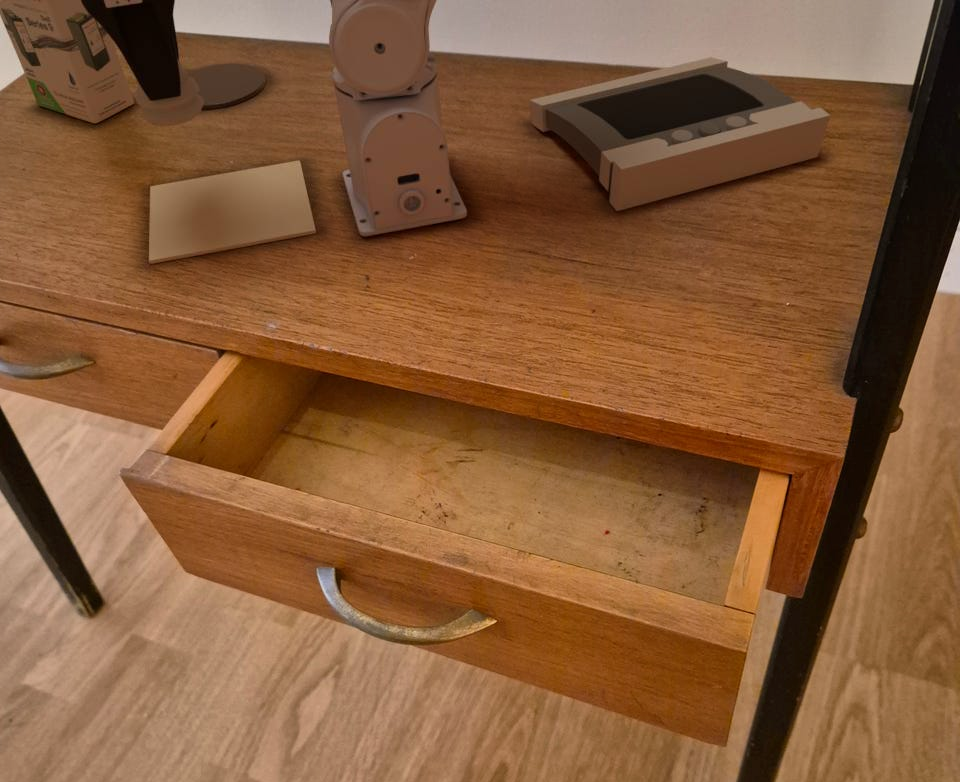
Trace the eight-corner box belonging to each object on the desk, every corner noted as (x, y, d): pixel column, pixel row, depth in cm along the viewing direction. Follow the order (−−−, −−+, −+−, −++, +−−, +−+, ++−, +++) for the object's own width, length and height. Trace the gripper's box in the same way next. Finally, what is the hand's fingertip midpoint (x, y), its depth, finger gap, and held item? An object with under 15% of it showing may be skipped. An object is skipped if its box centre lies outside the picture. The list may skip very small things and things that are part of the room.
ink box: (35, 106, 82) (-26, -34, 73) (77, 85, 84) (23, -52, 76) (95, 125, 78) (39, -19, 70) (138, 103, 81) (88, -39, 72)
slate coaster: (269, 100, 80) (268, 95, 79) (169, 116, 79) (167, 112, 78) (261, 61, 86) (260, 57, 85) (168, 76, 85) (167, 72, 84)
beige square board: (316, 233, 64) (315, 229, 64) (150, 264, 62) (148, 260, 62) (300, 163, 71) (299, 160, 71) (151, 189, 70) (150, 186, 70)
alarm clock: (621, 169, 61) (528, 64, 70) (615, 225, 65) (527, 119, 74) (830, 115, 64) (714, 22, 74) (813, 171, 68) (704, 76, 78)
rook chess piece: (190, 129, 59) (150, 2, 53) (130, 127, 60) (84, 1, 54) (216, 99, 62) (181, -25, 56) (158, 98, 63) (117, -25, 57)
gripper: (25, -176, 54) (108, 53, 64) (-2, -117, 44) (101, 142, 54) (142, -191, 55) (205, 37, 65) (140, -136, 45) (215, 122, 55)
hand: (165, 84), depth 59 cm, fingers closed on rook chess piece, 3 cm apart
